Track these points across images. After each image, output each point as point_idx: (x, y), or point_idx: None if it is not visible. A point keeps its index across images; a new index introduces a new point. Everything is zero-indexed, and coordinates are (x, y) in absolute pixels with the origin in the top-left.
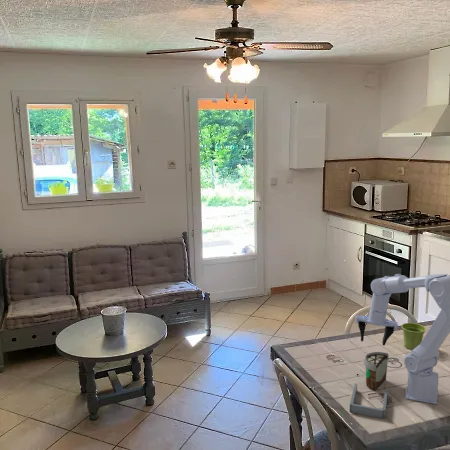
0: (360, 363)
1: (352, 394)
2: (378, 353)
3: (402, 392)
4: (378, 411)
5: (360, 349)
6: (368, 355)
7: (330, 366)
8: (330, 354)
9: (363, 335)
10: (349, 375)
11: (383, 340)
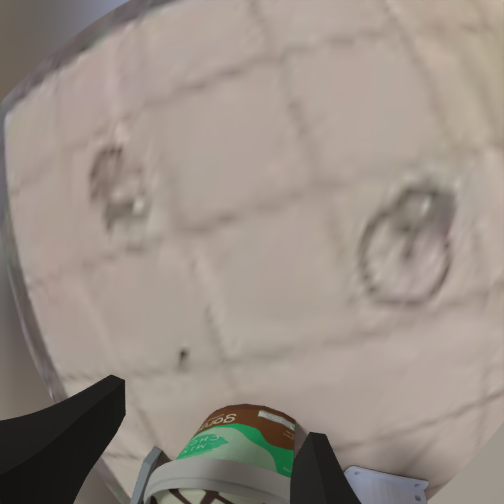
0: (226, 247)
1: (133, 494)
2: (234, 488)
3: None
4: None
5: (279, 74)
6: (167, 484)
7: (90, 268)
8: (111, 144)
9: (91, 464)
10: (149, 357)
11: (298, 484)
